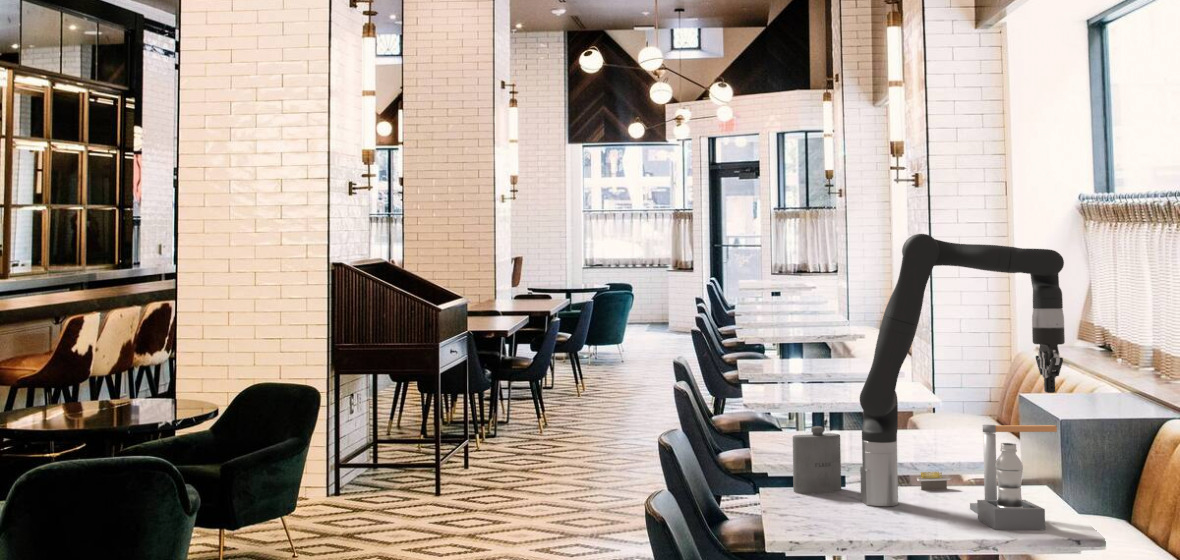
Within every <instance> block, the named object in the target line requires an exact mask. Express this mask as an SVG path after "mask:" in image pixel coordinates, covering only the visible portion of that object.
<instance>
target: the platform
mask: <svg viewBox="0 0 1180 560" xmlns="http://www.w3.org/2000/svg"><path fill="white" fill-rule="evenodd" d="M916 480H917V482H920V490H921V491H931V490H932V491H935V490H936V489H939V490H948V489H947V488H948V483H947V481H951V480H952V477H950V476H949V477H948V476H943V475H942V472H939V471H925V472H924V471H921V472H920V476H916Z"/></svg>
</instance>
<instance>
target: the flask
mask: <svg viewBox="0 0 1180 560" xmlns="http://www.w3.org/2000/svg"><path fill="white" fill-rule="evenodd" d="M810 429H811V430H810V431H811V433H812V434H795V435H793V436H792V475H793V476H792V478H793V479H792V482H793V488H792V489H793V493H796V494H801V495H802V494H803V495H813V494H812V493H818V494H828V493H836V492H840V491H842V466H841V465H842V463H841V461H842V460H841V457H842V456H841V454H842V453H841V435H840V434H839V433H833V432H832V433H831V432H830V433H829V432H828V433H825V429H824V427H823V426H819V425H816V426H812V427H811V428H810Z"/></svg>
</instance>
